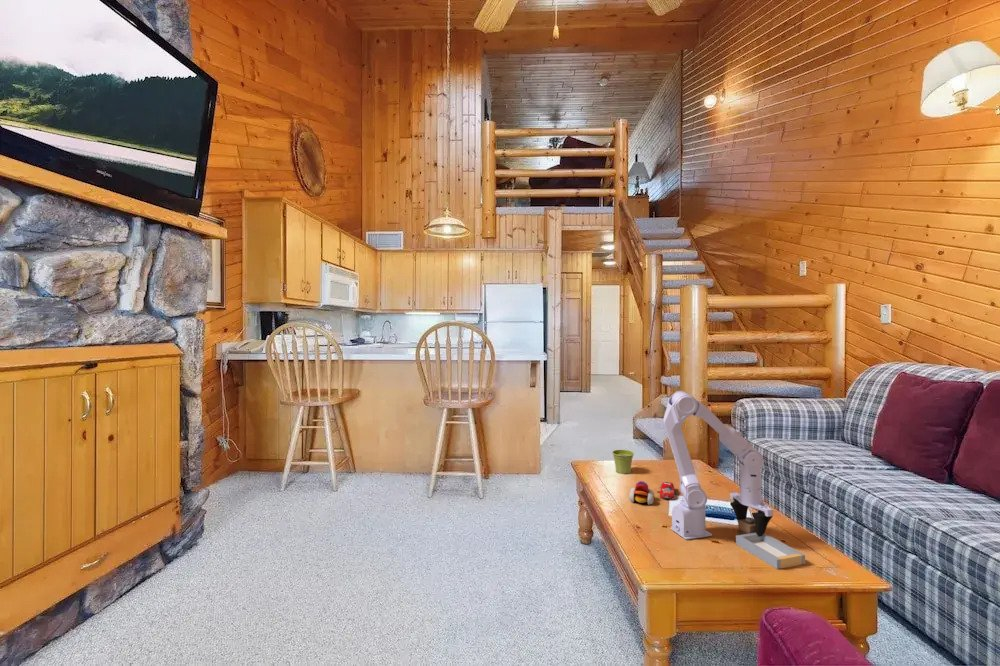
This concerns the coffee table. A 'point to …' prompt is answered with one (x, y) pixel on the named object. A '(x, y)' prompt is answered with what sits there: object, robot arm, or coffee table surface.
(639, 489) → the rainbow flower
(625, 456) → the plant pot
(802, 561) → the tray
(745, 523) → the block with grey knob
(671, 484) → the race car
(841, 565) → the coffee table surface
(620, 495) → the coffee table surface
